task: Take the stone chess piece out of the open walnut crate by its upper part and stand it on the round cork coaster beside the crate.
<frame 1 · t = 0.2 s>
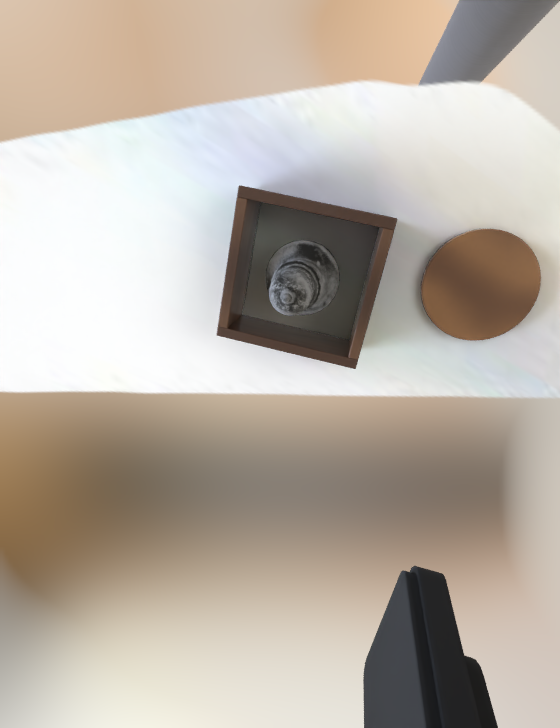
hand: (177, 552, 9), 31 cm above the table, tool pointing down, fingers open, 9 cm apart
crate: (306, 272, 38), on the table
coaster: (478, 285, 36), on the table
stone chess piece: (307, 272, 38), resting in crate
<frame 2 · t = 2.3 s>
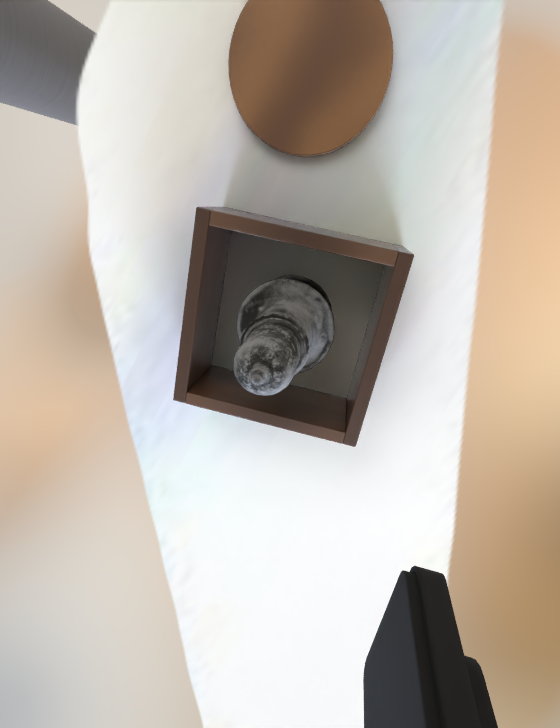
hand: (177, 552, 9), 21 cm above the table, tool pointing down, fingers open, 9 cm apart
crate: (292, 314, 29), on the table
coaster: (309, 68, 24), on the table
stone chess piece: (292, 314, 29), resting in crate
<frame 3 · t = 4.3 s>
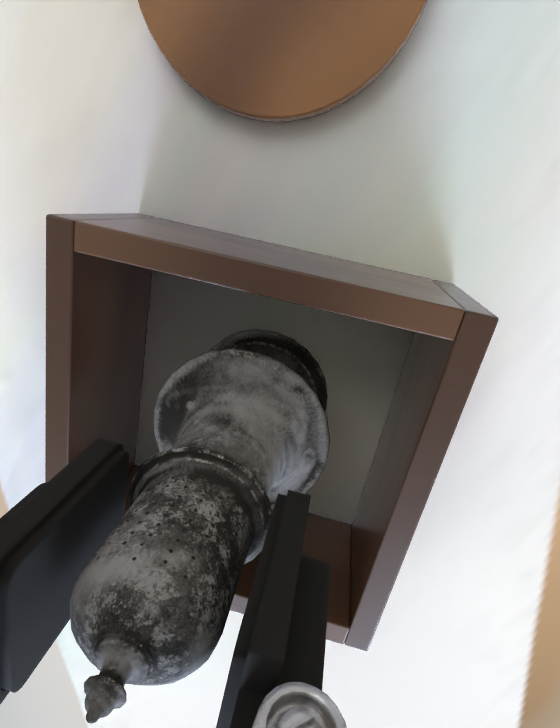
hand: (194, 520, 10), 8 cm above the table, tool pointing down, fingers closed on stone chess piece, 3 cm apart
crate: (261, 393, 17), on the table
stone chess piece: (262, 391, 18), resting in crate, touching gripper
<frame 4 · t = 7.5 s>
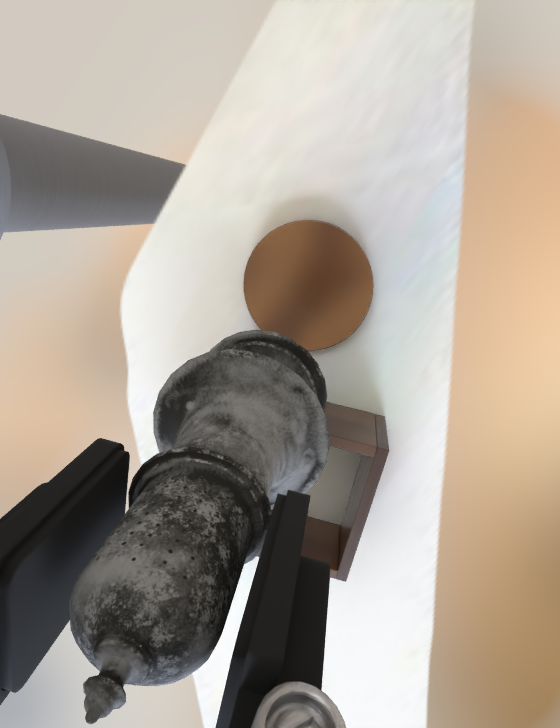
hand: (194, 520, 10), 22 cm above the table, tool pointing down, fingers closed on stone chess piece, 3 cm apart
crate: (295, 460, 35), on the table
coaster: (307, 287, 30), on the table
stone chess piece: (261, 391, 18), point 15 cm above the table, touching gripper
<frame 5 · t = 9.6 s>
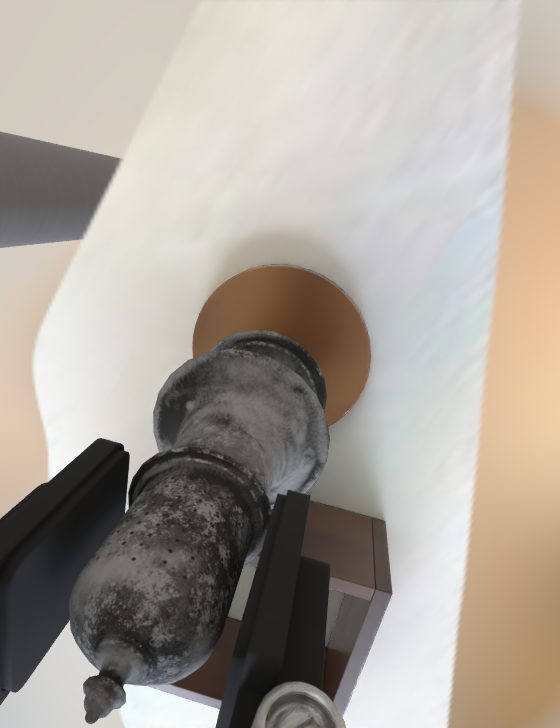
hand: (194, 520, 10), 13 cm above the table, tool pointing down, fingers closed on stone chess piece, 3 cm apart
crate: (267, 568, 27), on the table
coaster: (280, 353, 22), on the table
stone chess piece: (261, 391, 18), point 5 cm above the table, touching gripper
when the fingers open (8 cm above the table, at t = 10.9 s): stone chess piece stays where it is, resting on coaster.
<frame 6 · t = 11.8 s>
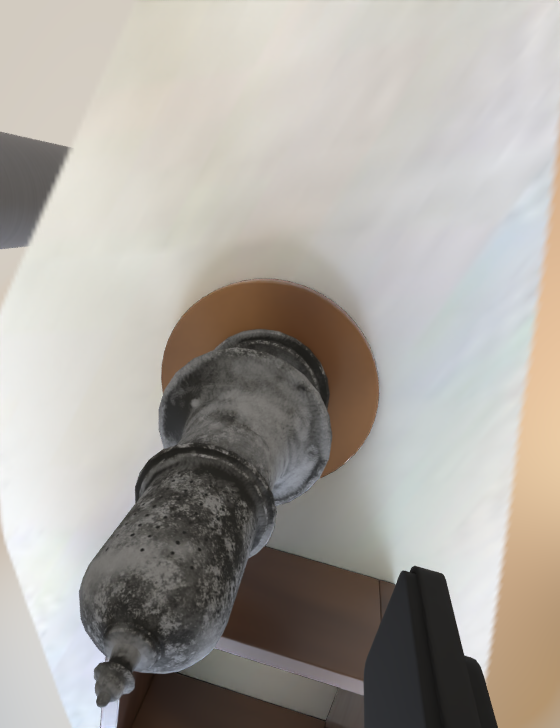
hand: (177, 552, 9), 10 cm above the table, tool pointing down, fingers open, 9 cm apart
crate: (255, 632, 23), on the table
coaster: (268, 386, 18), on the table
stone chess piece: (265, 390, 18), resting on coaster
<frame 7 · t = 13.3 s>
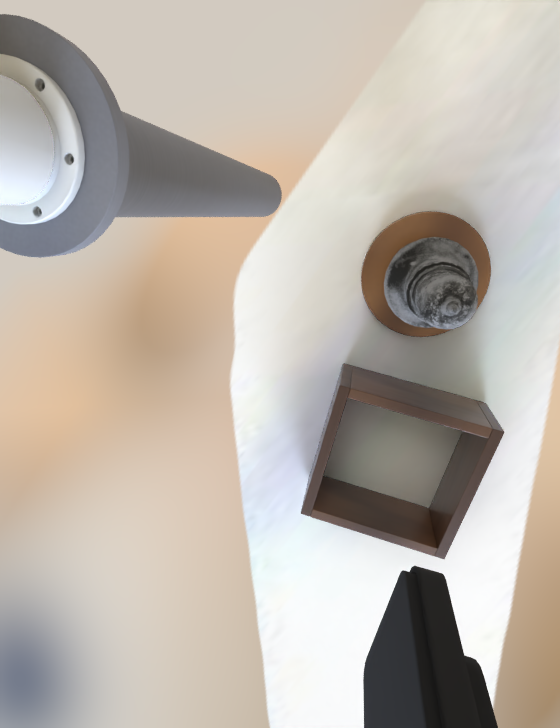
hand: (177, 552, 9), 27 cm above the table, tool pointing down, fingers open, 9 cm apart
crate: (390, 443, 37), on the table
coaster: (423, 276, 32), on the table
stone chess piece: (423, 276, 32), resting on coaster
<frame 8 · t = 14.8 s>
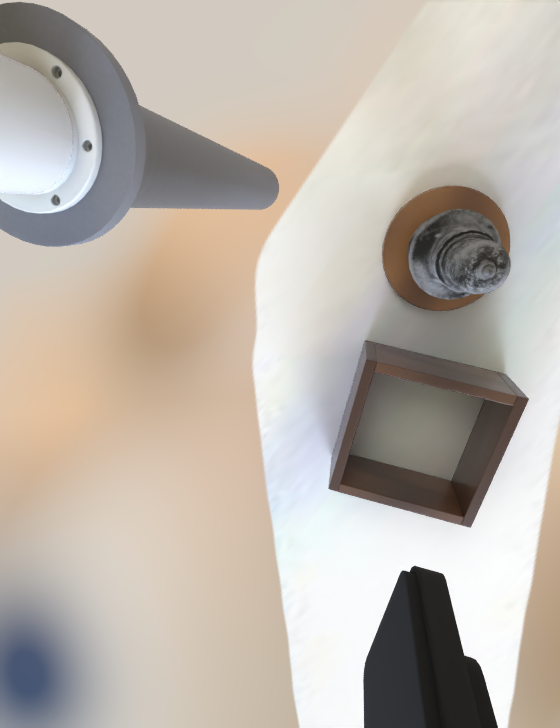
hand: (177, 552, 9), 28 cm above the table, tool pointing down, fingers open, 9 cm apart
crate: (412, 418, 37), on the table
coaster: (443, 250, 33), on the table
stone chess piece: (443, 250, 32), resting on coaster
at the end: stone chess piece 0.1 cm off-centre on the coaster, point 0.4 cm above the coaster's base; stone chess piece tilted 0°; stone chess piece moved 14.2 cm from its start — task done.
